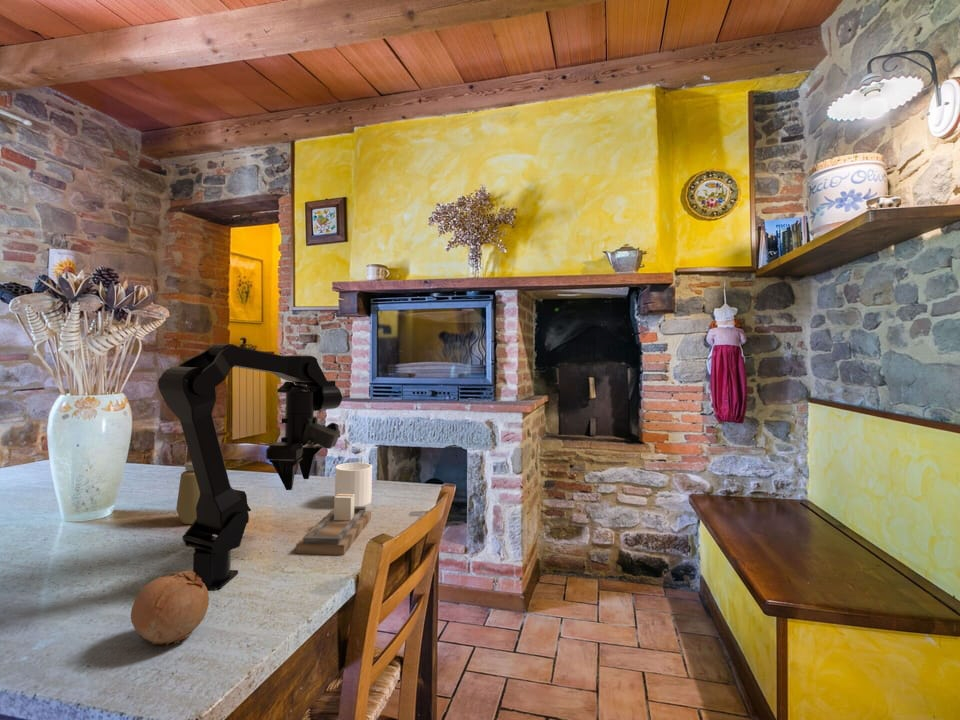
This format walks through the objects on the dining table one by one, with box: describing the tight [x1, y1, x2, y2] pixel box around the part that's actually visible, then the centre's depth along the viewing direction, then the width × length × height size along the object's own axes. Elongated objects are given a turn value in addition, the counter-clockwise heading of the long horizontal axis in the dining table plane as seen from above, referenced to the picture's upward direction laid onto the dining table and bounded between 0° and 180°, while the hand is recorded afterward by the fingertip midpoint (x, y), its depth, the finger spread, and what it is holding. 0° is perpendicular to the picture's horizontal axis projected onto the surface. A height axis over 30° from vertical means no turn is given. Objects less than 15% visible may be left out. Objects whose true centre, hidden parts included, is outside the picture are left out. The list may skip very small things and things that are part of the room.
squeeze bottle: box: [175, 460, 200, 525], centre depth 116 cm, size 8×8×18 cm
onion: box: [130, 570, 210, 646], centre depth 69 cm, size 10×9×10 cm
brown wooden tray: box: [295, 506, 372, 556], centre depth 110 cm, size 22×10×3 cm, turn 179°
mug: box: [334, 462, 373, 507], centre depth 135 cm, size 13×10×10 cm
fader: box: [333, 494, 355, 521], centre depth 114 cm, size 3×4×6 cm
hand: (297, 484), depth 104 cm, fingers open, 9 cm apart
